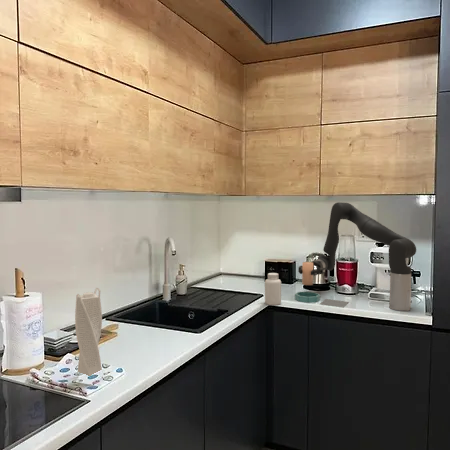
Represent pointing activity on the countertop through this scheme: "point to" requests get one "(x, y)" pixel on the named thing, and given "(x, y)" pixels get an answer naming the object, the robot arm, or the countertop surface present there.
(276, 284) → the pill bottle
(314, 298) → the bowl
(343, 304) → the mat
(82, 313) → the skyscraper
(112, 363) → the countertop surface
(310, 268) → the canister
